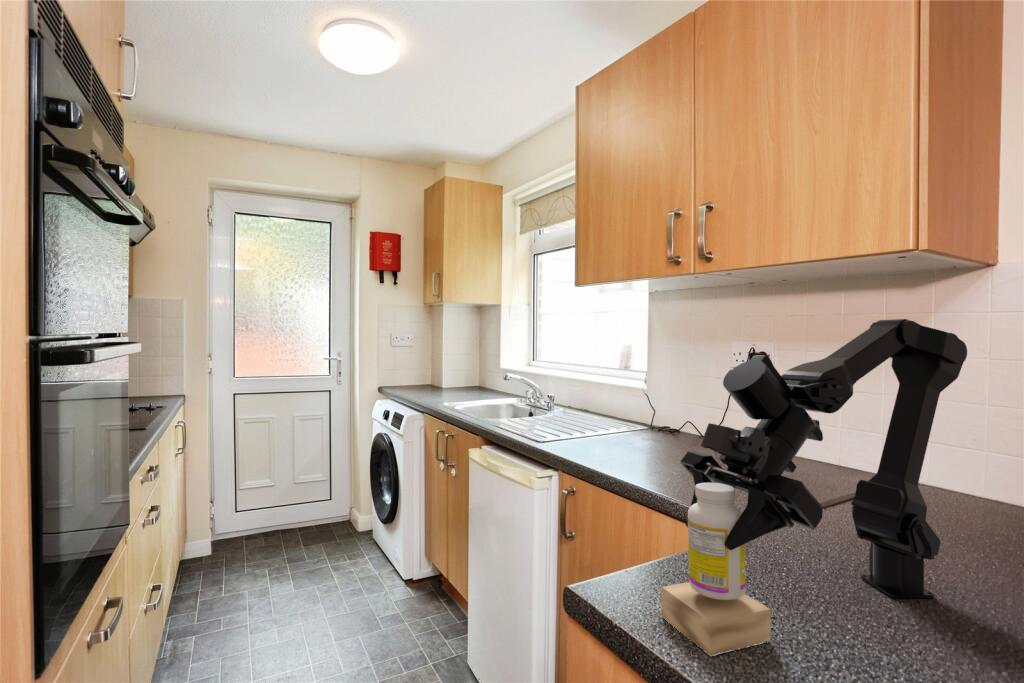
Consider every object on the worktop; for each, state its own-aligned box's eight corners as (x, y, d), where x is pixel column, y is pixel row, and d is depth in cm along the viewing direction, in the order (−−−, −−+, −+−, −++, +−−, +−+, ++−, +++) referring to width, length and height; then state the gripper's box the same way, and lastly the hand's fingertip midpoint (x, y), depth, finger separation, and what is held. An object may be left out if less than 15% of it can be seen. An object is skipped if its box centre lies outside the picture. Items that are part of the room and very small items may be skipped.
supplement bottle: (724, 575, 68) (722, 478, 68) (758, 599, 61) (756, 491, 61) (678, 580, 66) (677, 481, 67) (708, 605, 60) (707, 495, 60)
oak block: (770, 642, 61) (770, 609, 61) (710, 657, 58) (710, 622, 58) (716, 606, 69) (716, 577, 70) (661, 617, 66) (661, 586, 66)
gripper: (691, 395, 74) (626, 477, 70) (804, 410, 57) (726, 521, 53) (733, 445, 77) (673, 527, 73) (854, 475, 59) (783, 585, 55)
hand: (706, 537), depth 63 cm, fingers closed on supplement bottle, 6 cm apart
